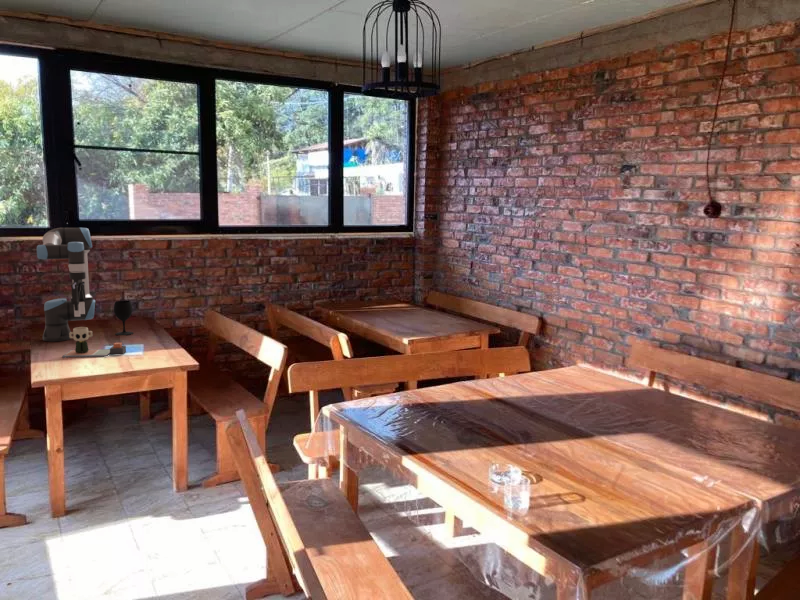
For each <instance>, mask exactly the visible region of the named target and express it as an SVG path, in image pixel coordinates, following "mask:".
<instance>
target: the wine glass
mask: <svg viewBox="0 0 800 600" xmlns="http://www.w3.org/2000/svg"><path fill="white" fill-rule="evenodd" d="M113 312H114V315H115V317H116V318H117V319H118V320H120V321H121V322H122V327H123V328H122V331H120V332H119V331H118V332H115V334H114V335H115V336H118V335H126V336H131V334H132V335H133V334H134V332H133V331H126V321H127V320H128V319H129V318H130V317H132V315H133V304H132V302H131V300H117V301H114V305H113Z"/></svg>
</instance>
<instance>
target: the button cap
mask: <svg viewBox="0 0 800 600" xmlns="http://www.w3.org/2000/svg"><path fill="white" fill-rule="evenodd" d="M112 345H113V346H114V348H122V346H123V342H114V343H113V344H112Z"/></svg>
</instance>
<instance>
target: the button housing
mask: <svg viewBox="0 0 800 600" xmlns="http://www.w3.org/2000/svg"><path fill="white" fill-rule="evenodd" d="M109 349H110V354H123V355H125V354H126V353H127V346H126V345H122V348H114V345H113V346H111V347H110V348H109Z"/></svg>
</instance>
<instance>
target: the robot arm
mask: <svg viewBox="0 0 800 600" xmlns="http://www.w3.org/2000/svg"><path fill="white" fill-rule="evenodd" d="M92 248H93V243H92V238H91V233H90V230H89V228H87V227H57V228H52V229H50V230H48V231H47V232H45V233H44V234H43V236H42V244H38V245H36V256H37V257H36V258H37V259H38V260H46V261H47V260H68V265H67V267H68V269H69V271H68V272H69V273H68V274H69V275H68V277H69V278H68V279H70V280H71V281H72V284H70V287H71V297H70V300H67V298H65V297H64V298H55V299H51V300H47V301H45V302H44V304H43V305H44V306H43V311H44V324H45V325H44V330H43V334H42V341H44V342H62V341H68V340H71V339H72V338H70V337H69V333H70V332H72V331H71V329H70V326H69V321H70V322H71V321H87V320H92V319H94V317H95V312H96V311H95V309H96V308H95V307H96V299H95V298H94V299H93V296H92V294H91V293H90V281H89V280H90V279H89V263H88V261H89V260H88V258H89V257H88V253H89V252H91V249H92ZM71 335H72V336H73V334H71Z"/></svg>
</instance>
